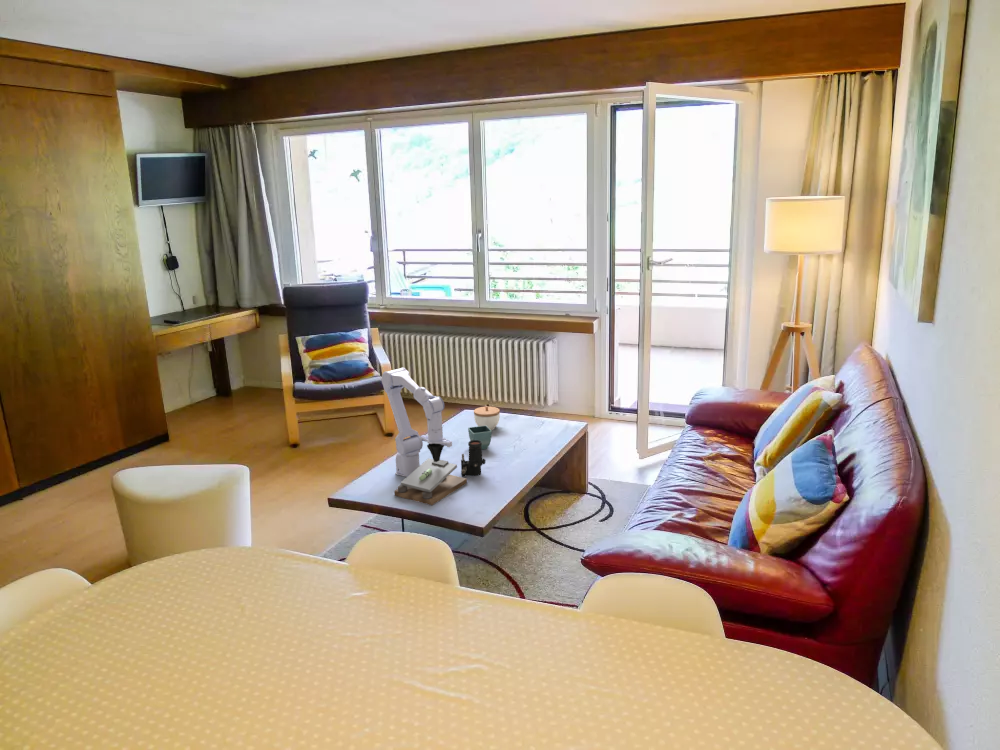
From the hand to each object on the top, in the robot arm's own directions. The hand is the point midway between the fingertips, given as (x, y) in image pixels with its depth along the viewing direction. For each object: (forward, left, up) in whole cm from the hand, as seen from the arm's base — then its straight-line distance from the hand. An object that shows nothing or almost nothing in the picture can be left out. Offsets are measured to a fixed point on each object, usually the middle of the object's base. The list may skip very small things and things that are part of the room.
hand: (436, 460), depth 278 cm
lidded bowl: (-20, +66, -11) cm, 70 cm away
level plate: (0, -5, -5) cm, 7 cm away
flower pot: (-8, +42, -11) cm, 44 cm away
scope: (+6, +16, -11) cm, 20 cm away
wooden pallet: (0, -4, -10) cm, 11 cm away
